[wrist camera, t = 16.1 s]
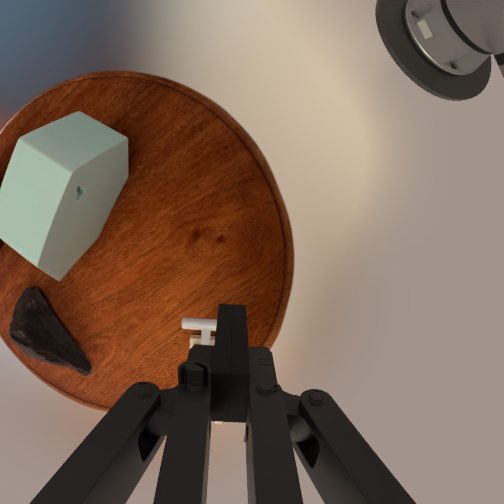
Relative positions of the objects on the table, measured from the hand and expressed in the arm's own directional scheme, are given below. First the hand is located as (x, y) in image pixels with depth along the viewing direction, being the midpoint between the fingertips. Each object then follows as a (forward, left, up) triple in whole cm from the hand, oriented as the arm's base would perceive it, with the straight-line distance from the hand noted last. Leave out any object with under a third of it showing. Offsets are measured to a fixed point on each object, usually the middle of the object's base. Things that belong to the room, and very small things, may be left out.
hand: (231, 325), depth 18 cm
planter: (+11, -18, -27) cm, 34 cm away
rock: (+33, -8, -27) cm, 43 cm away
